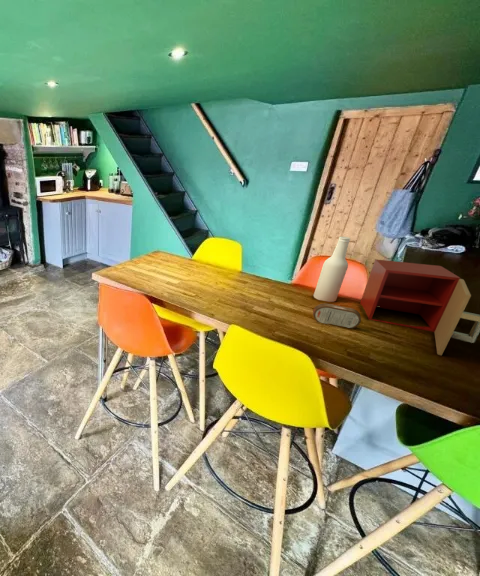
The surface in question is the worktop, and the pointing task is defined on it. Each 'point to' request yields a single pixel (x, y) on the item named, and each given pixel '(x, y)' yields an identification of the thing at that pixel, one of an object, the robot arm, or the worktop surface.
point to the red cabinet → (409, 290)
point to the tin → (336, 315)
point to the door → (456, 319)
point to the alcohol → (333, 273)
